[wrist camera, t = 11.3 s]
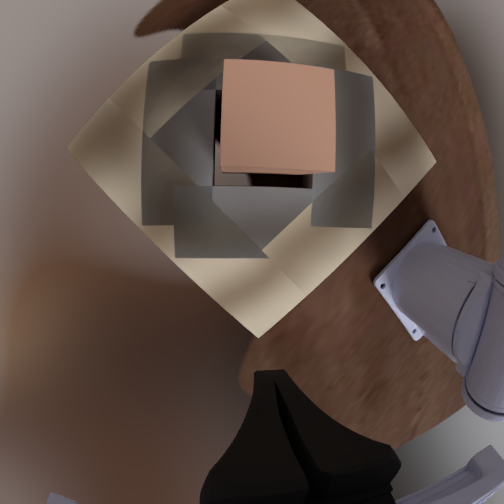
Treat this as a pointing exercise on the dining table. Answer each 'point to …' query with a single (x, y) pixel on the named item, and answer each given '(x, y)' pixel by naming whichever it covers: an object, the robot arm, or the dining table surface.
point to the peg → (277, 118)
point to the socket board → (249, 197)
